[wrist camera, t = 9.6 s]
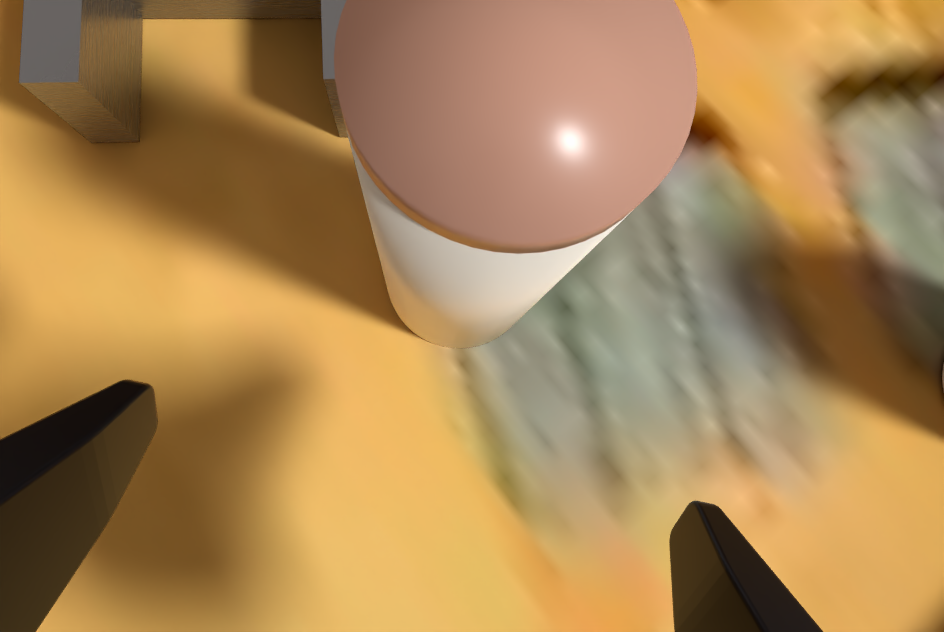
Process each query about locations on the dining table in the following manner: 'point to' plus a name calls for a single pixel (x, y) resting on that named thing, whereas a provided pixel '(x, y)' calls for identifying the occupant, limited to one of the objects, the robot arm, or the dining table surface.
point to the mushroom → (505, 142)
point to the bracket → (131, 54)
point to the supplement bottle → (943, 377)
